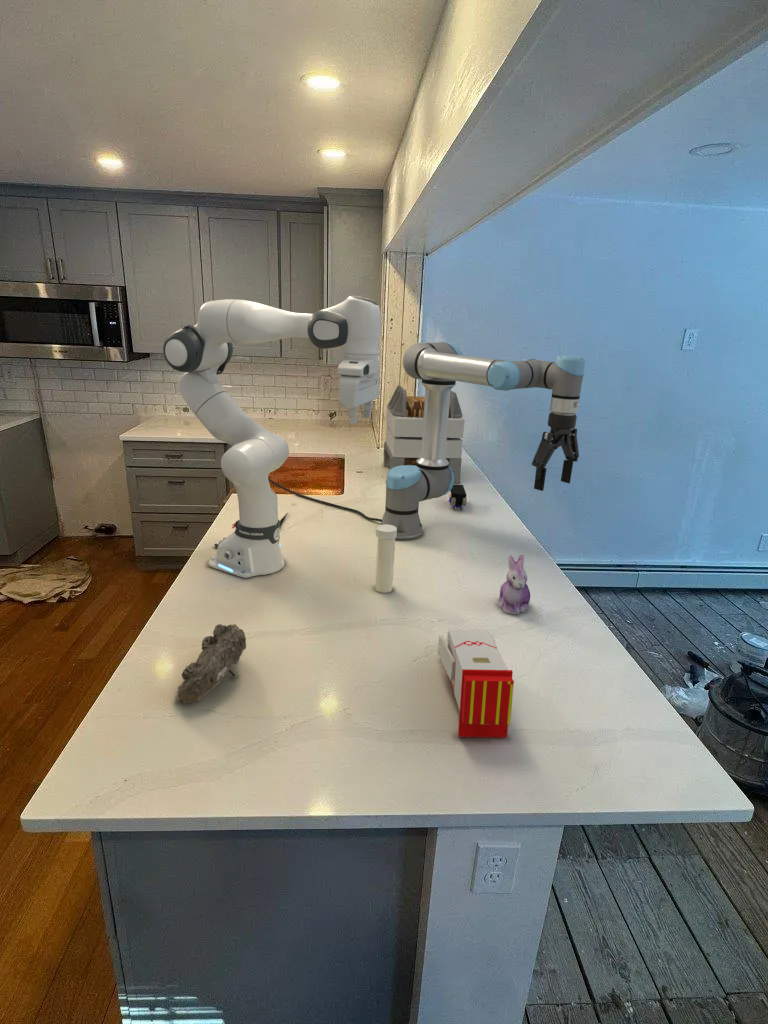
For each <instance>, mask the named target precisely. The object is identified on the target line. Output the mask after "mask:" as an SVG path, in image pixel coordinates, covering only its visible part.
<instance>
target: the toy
mask: <svg viewBox="0 0 768 1024" xmlns="http://www.w3.org/2000/svg"><path fill="white" fill-rule="evenodd" d="M446 640H447V643H446V641H445V639H444V636H443V635H442V634H439V637H438V646H437V656H438V657H439V659H440V661H441V663H442V666H443V668H444V670H445V672H446V674H447V677H448V679H449V681H450V684H451V687H452V690H453V693H454V697H455V701H456V705H457V708H458V711H459V714H458V715H459V716H458V730H457V731H458V732H457V737H458V738H508V731H509V726H510V725H511V717H512V707H513V697H514V696H513V695H514V684H515V680H514V679H513V673H514V671H513V670H512V669H508V667H507V665H506V662H505V661H504V659H503V658H502V655H501V653H500V651H499V649H498V647H497V643H496V639H495V637H494V635H493V634H491V632H490V631H489V629H467V628H466V629H465V628H463V629H461V628H460V629H459V628H448V630H447V639H446Z"/></svg>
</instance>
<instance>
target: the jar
mask: <svg viewBox="0 0 768 1024" xmlns="http://www.w3.org/2000/svg"><path fill="white" fill-rule="evenodd" d="M376 541H377V543H376V547H377V548H376V563H375V564H376V567H375V591H377V592H378V593H383V594H384V593H385V594H388V593H390V592H392V591H393V588H394V587H393V586H394V571H395V570H394V569H395V549H396V540H395V539H392V540H383V539H380V538H378V537H377V539H376Z"/></svg>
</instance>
